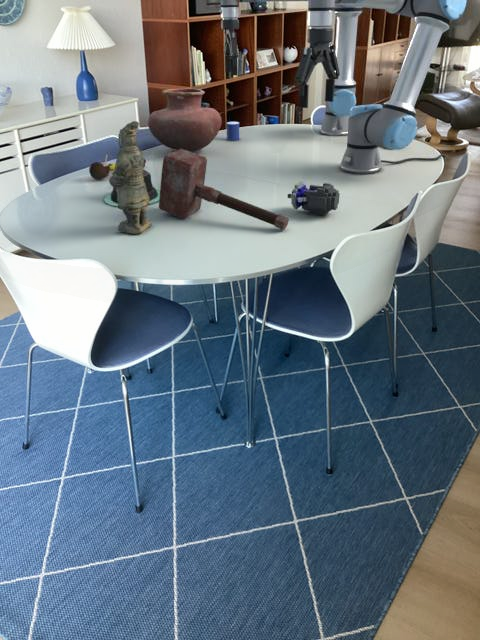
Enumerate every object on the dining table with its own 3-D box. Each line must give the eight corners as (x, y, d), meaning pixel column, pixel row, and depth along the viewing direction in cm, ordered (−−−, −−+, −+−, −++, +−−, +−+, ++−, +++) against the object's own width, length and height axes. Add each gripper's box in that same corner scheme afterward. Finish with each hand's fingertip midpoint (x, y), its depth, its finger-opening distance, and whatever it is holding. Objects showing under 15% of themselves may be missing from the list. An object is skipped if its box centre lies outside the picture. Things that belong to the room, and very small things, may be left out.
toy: (295, 178, 172) (342, 184, 166) (295, 205, 177) (340, 211, 171) (285, 186, 166) (333, 192, 160) (284, 213, 170) (331, 220, 164)
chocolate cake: (91, 202, 180) (113, 186, 197) (142, 231, 182) (160, 212, 199) (107, 162, 172) (129, 148, 190) (160, 192, 174) (177, 176, 192)
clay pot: (228, 143, 251) (226, 84, 239) (213, 161, 226) (210, 95, 213) (163, 142, 256) (158, 84, 243) (142, 159, 231) (135, 95, 218)
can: (241, 139, 260) (241, 122, 256) (234, 141, 256) (234, 124, 252) (231, 137, 263) (231, 121, 259) (224, 140, 259) (223, 123, 255)
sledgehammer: (299, 190, 156) (179, 147, 167) (285, 200, 148) (161, 154, 160) (286, 244, 166) (174, 200, 177) (272, 256, 158) (156, 209, 170)
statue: (131, 220, 168) (117, 116, 152) (158, 224, 164) (147, 118, 149) (109, 233, 159) (93, 124, 144) (138, 237, 156) (124, 126, 140)
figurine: (152, 155, 217) (104, 161, 197) (152, 175, 220) (105, 183, 201) (127, 151, 223) (79, 157, 204) (128, 170, 226) (80, 177, 207)
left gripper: (216, 18, 244) (218, 70, 255) (226, 20, 223) (228, 77, 234) (232, 17, 245) (234, 70, 256) (244, 19, 224) (245, 76, 235)
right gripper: (333, 25, 172) (329, 97, 183) (283, 29, 157) (282, 108, 167) (354, 25, 168) (348, 100, 179) (304, 30, 152) (302, 111, 163)
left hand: (231, 73), depth 245 cm, fingers open, 13 cm apart
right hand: (316, 104), depth 173 cm, fingers open, 13 cm apart
